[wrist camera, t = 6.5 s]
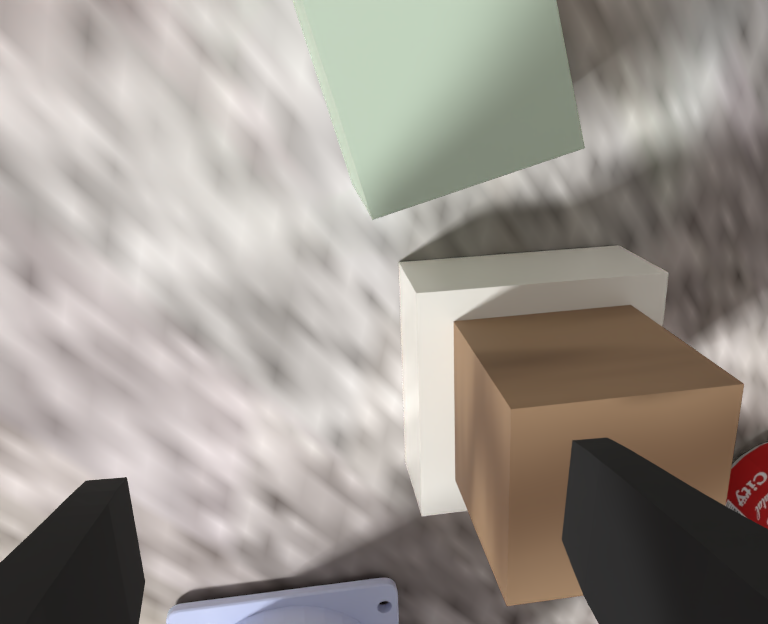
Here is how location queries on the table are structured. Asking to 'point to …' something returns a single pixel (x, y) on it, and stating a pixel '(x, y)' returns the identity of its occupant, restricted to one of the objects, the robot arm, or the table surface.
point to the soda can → (750, 485)
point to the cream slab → (488, 300)
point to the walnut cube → (575, 425)
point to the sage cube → (440, 92)
